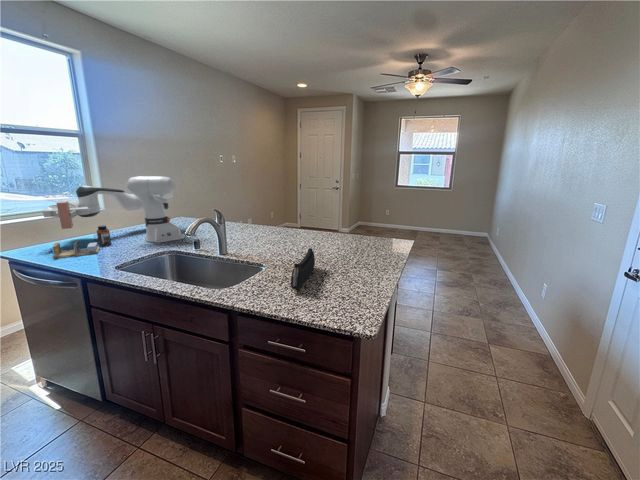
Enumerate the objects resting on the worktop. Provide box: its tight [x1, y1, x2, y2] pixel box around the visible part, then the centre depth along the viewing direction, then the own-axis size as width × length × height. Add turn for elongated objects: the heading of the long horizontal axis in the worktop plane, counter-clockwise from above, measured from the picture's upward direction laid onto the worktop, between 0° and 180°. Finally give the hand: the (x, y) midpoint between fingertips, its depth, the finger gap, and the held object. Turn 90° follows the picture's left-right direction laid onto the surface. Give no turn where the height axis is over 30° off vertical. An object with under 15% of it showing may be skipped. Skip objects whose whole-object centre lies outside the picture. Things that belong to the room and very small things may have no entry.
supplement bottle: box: [96, 224, 112, 247], centre depth 181 cm, size 6×6×11 cm
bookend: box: [72, 240, 88, 254], centre depth 165 cm, size 5×8×5 cm, turn 29°
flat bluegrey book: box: [86, 241, 99, 252], centre depth 169 cm, size 4×8×3 cm, turn 29°
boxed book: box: [55, 200, 74, 230], centre depth 169 cm, size 4×6×14 cm
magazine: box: [290, 247, 316, 291], centre depth 135 cm, size 17×3×30 cm
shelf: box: [52, 242, 100, 259], centre depth 165 cm, size 19×10×6 cm, turn 119°
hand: (64, 214), depth 168 cm, fingers closed on boxed book, 4 cm apart
